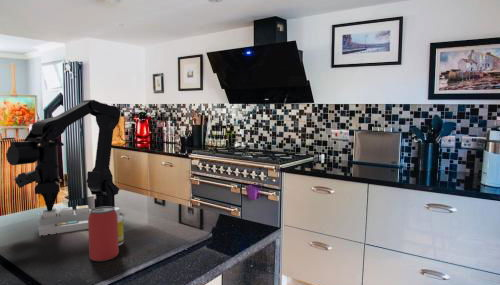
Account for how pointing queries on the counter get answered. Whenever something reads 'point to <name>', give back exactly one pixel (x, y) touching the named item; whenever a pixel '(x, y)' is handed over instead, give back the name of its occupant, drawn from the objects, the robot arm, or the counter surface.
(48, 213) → the key
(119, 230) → the supplement bottle
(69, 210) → the key mid
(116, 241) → the beer can
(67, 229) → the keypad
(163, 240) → the counter surface
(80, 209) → the key
